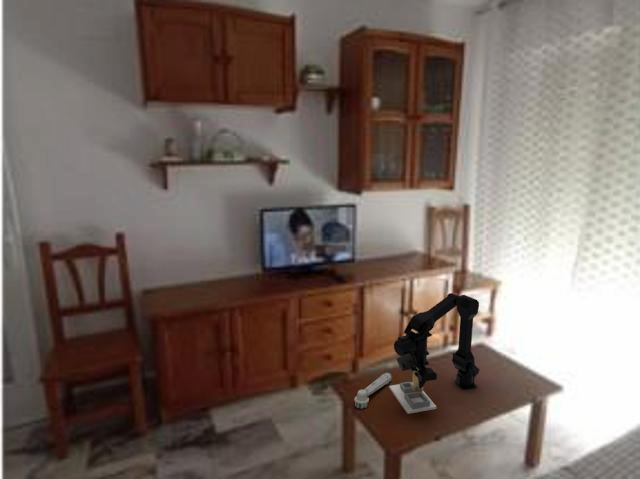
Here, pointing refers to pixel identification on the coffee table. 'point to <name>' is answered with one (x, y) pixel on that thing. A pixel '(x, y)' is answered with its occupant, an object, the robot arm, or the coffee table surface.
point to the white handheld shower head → (371, 390)
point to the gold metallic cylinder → (416, 382)
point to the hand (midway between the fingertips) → (417, 384)
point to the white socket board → (411, 398)
